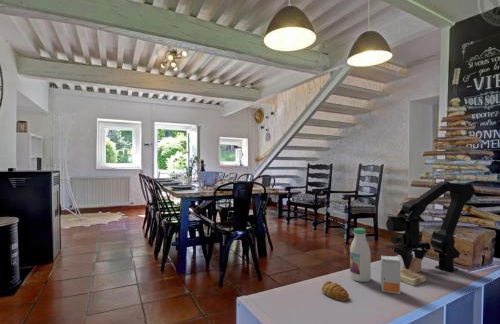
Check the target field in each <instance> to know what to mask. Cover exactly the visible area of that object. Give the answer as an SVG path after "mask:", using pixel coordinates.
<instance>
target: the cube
mask: <svg viewBox="0 0 500 324" xmlns="http://www.w3.org/2000/svg"><path fill="white" fill-rule="evenodd" d="M402 262H403V261H402ZM402 269H406V268H405V265H404V262H403V268H402ZM406 270H410V271H413V272H416V273H419V272H421V271H422V261H421V259H419V258H415V256H413V258H412V261H411V264H410V267H409V269H406Z"/></svg>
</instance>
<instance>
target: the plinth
mask: <svg viewBox="0 0 500 324" xmlns="http://www.w3.org/2000/svg"><path fill="white" fill-rule="evenodd" d="M426 276H427V275H424V274H422V273H419V272H413V271H410V270H406V269H404V268H400V283H404V284H407V285H410V286H416V285H418V284H421V283H423V282H426V279H427V277H426Z"/></svg>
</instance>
